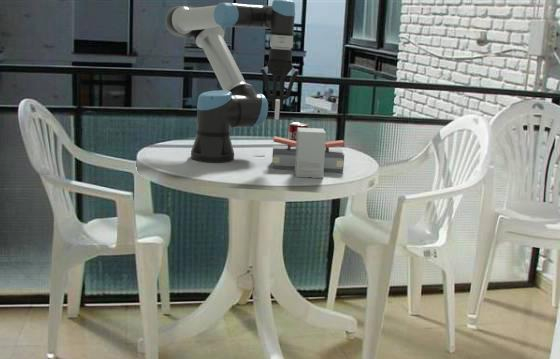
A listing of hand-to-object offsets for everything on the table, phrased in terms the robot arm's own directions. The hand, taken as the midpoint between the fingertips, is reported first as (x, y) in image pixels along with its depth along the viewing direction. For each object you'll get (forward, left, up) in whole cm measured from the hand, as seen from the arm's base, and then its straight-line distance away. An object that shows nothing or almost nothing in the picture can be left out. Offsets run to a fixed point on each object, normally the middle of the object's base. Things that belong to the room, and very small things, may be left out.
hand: (276, 119), depth 232 cm
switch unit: (+11, 0, -16) cm, 20 cm away
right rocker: (+18, 0, -8) cm, 19 cm away
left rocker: (+5, 0, -8) cm, 9 cm away
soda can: (+8, +19, -16) cm, 26 cm away
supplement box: (+11, -12, -16) cm, 23 cm away
